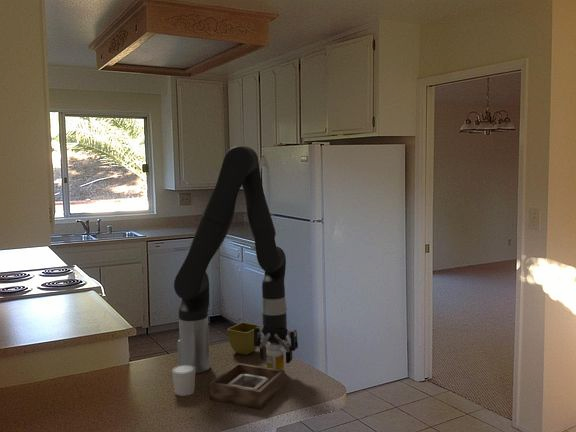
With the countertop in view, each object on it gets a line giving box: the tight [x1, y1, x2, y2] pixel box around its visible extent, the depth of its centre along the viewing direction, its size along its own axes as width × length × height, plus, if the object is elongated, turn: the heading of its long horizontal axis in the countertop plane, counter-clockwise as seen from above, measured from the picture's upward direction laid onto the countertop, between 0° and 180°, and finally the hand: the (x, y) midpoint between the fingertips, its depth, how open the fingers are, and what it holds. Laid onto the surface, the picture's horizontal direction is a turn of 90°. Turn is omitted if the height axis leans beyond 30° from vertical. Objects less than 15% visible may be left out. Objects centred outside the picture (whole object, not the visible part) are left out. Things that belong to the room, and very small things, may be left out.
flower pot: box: [227, 322, 262, 356], centre depth 192 cm, size 9×9×9 cm
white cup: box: [171, 365, 196, 397], centre depth 161 cm, size 7×7×7 cm
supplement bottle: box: [266, 342, 285, 370], centre depth 172 cm, size 5×5×10 cm
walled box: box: [209, 362, 286, 410], centre depth 159 cm, size 16×16×5 cm
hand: (276, 360), depth 173 cm, fingers open, 8 cm apart
